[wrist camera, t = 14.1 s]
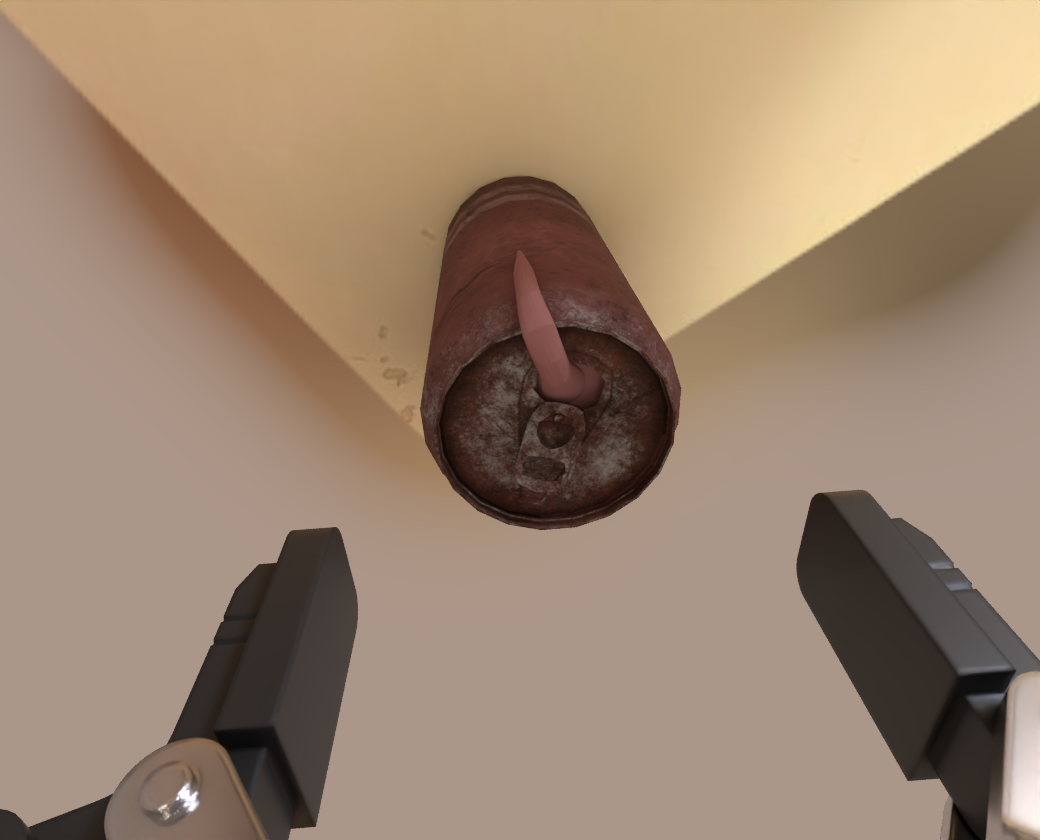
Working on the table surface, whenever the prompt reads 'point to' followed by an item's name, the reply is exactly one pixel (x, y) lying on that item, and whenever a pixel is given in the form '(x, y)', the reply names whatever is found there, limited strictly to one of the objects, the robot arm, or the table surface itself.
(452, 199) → the table surface
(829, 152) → the table surface
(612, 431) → the can
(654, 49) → the table surface
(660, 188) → the table surface
